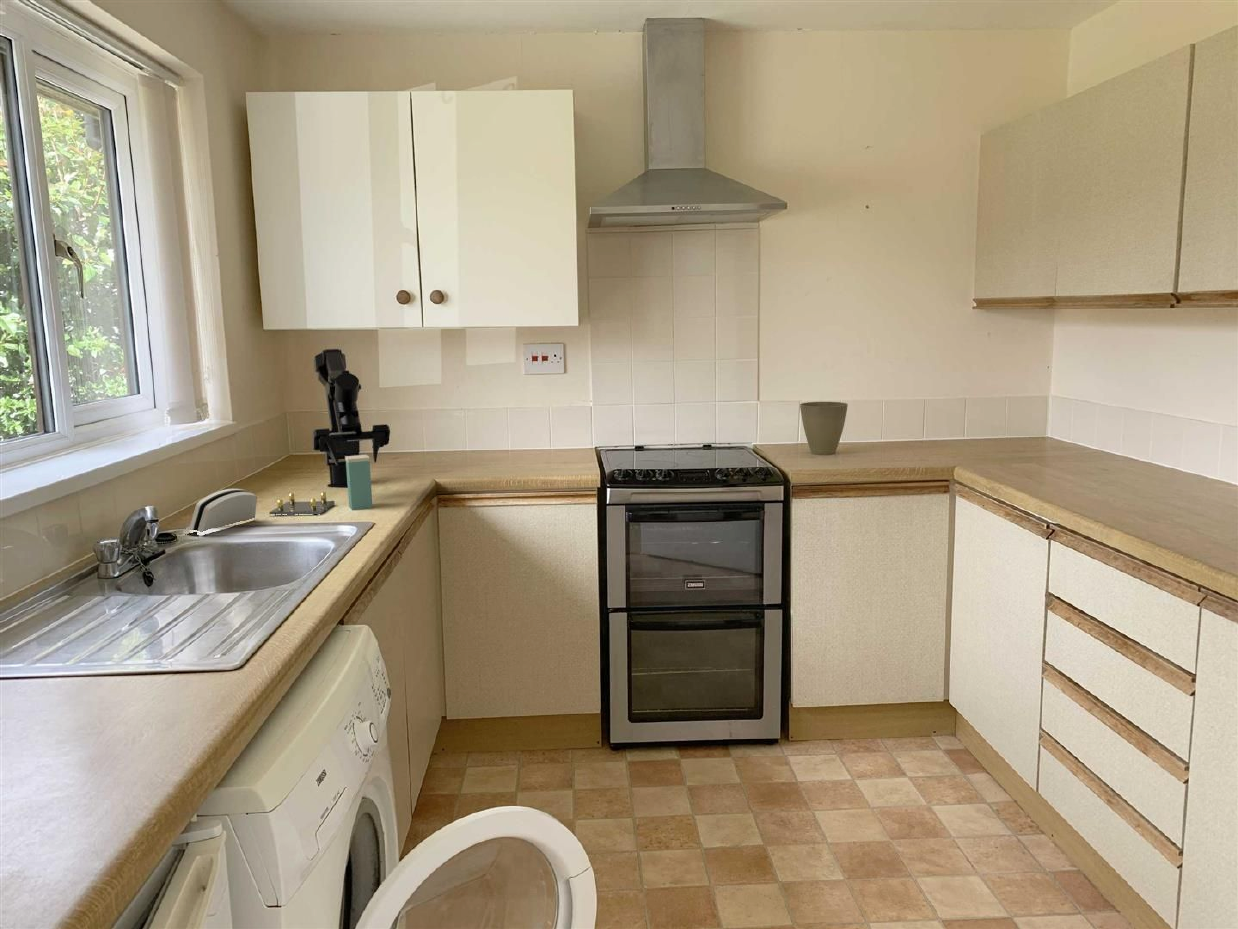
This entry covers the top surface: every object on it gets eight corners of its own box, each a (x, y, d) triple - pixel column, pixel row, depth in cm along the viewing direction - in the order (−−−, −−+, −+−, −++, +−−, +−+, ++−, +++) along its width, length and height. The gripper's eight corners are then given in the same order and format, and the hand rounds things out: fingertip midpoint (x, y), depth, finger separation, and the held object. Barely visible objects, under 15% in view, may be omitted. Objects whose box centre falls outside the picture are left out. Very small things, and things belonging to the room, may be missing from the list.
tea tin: (348, 506, 231) (344, 456, 229) (369, 504, 233) (366, 454, 231) (351, 510, 226) (347, 459, 224) (373, 508, 228) (369, 457, 226)
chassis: (287, 505, 233) (286, 492, 233) (334, 504, 233) (333, 491, 233) (269, 516, 222) (268, 502, 221) (319, 515, 221) (318, 500, 221)
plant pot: (792, 451, 302) (793, 402, 299) (835, 448, 305) (836, 400, 302) (810, 458, 288) (810, 407, 285) (854, 455, 290) (855, 405, 288)
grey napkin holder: (239, 518, 220) (246, 480, 217) (254, 526, 218) (262, 488, 215) (182, 535, 204) (190, 494, 201) (199, 543, 203) (206, 502, 200)
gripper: (381, 432, 248) (391, 478, 240) (309, 437, 241) (317, 485, 232) (384, 405, 240) (395, 452, 232) (309, 410, 232) (318, 458, 224)
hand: (356, 463), depth 230 cm, fingers open, 9 cm apart
